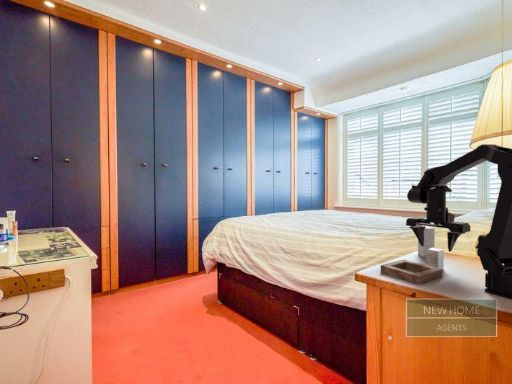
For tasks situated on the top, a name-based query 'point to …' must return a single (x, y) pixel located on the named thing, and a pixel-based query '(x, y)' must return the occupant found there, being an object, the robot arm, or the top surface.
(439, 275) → the square wooden frame
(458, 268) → the top surface
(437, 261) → the steel square peg
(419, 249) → the skincare box
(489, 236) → the robot arm
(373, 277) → the top surface
